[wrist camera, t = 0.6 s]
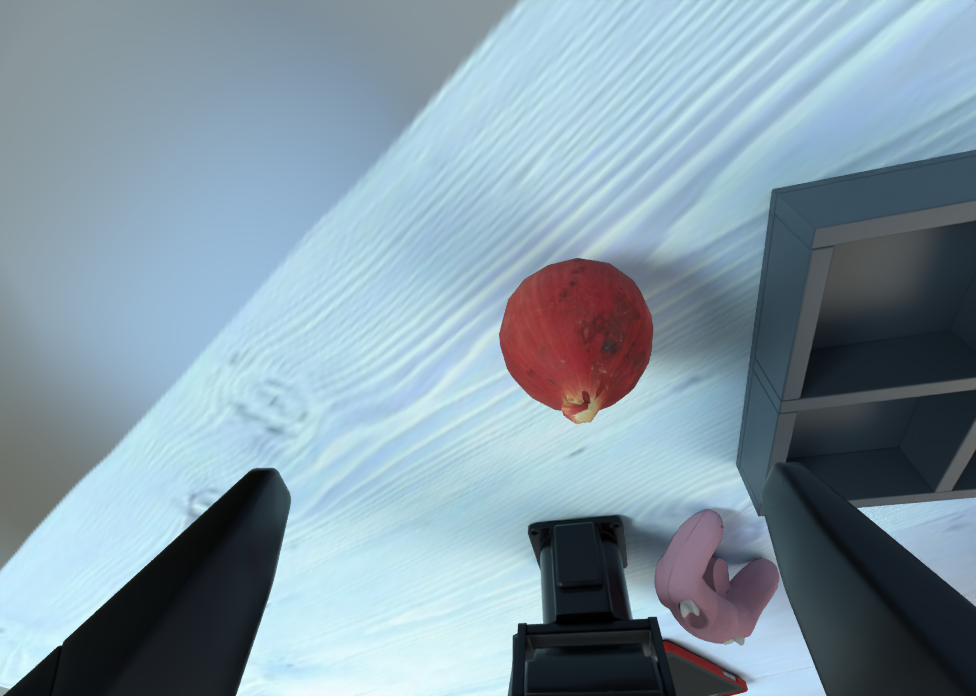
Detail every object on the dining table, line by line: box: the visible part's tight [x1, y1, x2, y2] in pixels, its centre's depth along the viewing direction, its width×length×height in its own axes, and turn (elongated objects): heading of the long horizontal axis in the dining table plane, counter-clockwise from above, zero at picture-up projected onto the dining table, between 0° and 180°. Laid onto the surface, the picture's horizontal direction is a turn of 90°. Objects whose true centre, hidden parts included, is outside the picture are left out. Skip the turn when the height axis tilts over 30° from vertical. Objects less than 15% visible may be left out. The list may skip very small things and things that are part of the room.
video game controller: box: [655, 510, 779, 645], centre depth 33 cm, size 10×5×7 cm, turn 44°
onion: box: [499, 258, 653, 424], centre depth 19 cm, size 6×6×8 cm
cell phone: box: [663, 642, 748, 696], centre depth 50 cm, size 8×15×1 cm, turn 48°
